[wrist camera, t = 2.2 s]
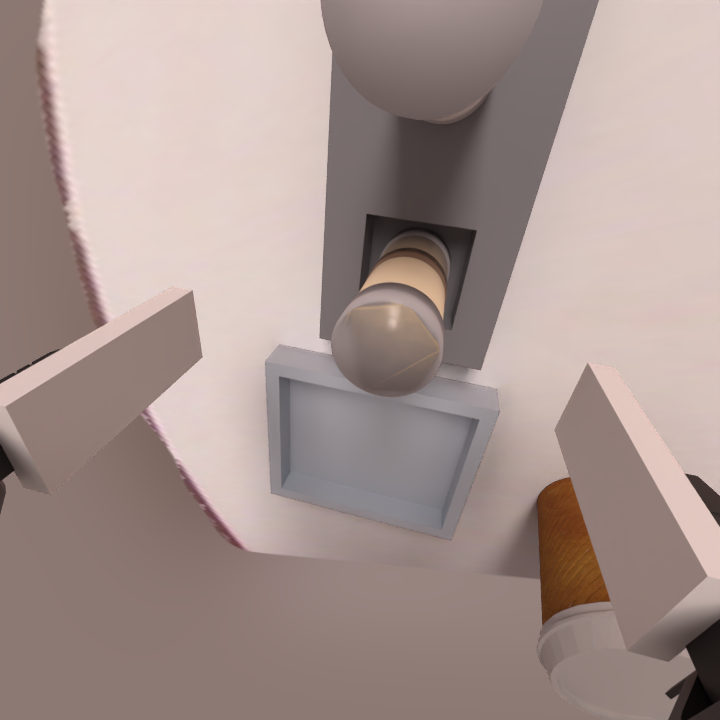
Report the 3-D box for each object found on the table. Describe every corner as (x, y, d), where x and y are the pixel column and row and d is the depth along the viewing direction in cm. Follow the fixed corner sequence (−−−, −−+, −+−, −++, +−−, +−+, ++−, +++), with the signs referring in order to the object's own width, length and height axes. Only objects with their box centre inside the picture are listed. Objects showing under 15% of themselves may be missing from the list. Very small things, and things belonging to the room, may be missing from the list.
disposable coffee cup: (513, 537, 34) (535, 710, 24) (518, 456, 29) (547, 628, 19) (639, 548, 31) (724, 748, 21) (665, 462, 27) (789, 665, 16)
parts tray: (496, 388, 27) (499, 411, 24) (451, 515, 34) (451, 540, 32) (279, 344, 29) (265, 361, 27) (281, 472, 36) (270, 493, 34)
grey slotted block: (593, -34, 16) (988, -519, 4) (478, 346, 25) (493, 534, 14) (356, -46, 17) (123, -432, 5) (333, 318, 27) (231, 466, 15)
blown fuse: (457, 232, 21) (454, 310, 12) (442, 298, 24) (430, 406, 14) (387, 222, 22) (334, 288, 13) (379, 287, 24) (328, 384, 15)
